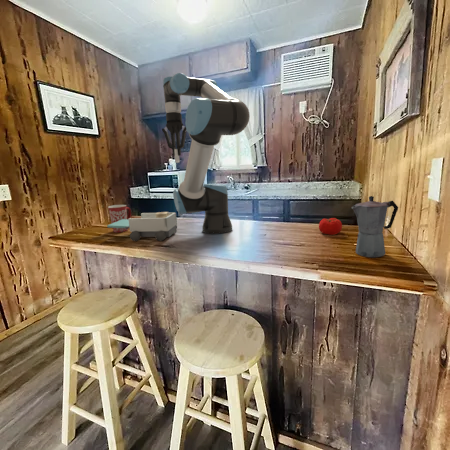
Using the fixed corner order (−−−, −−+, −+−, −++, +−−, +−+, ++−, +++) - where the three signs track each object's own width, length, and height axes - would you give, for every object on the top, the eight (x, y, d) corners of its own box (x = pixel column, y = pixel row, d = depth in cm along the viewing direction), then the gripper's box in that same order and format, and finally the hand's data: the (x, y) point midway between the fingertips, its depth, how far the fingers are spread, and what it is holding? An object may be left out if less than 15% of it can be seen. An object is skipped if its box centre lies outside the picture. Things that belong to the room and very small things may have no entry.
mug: (119, 233, 131) (115, 207, 128) (107, 232, 136) (104, 207, 132) (138, 228, 142) (135, 204, 139) (127, 226, 146) (124, 203, 143)
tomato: (318, 235, 113) (318, 221, 112) (319, 229, 123) (319, 216, 122) (342, 237, 110) (343, 222, 108) (341, 230, 120) (342, 217, 118)
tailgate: (143, 219, 132) (123, 218, 133) (127, 226, 116) (105, 225, 117) (143, 221, 132) (124, 220, 133) (127, 229, 116) (105, 228, 117)
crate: (168, 221, 126) (168, 211, 125) (167, 224, 121) (166, 213, 120) (158, 222, 126) (157, 212, 124) (156, 224, 121) (155, 214, 120)
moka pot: (341, 250, 93) (345, 195, 88) (382, 247, 94) (387, 193, 90) (357, 259, 84) (362, 198, 79) (401, 256, 85) (409, 196, 80)
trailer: (178, 230, 132) (177, 211, 130) (166, 241, 114) (164, 219, 112) (145, 231, 134) (143, 212, 132) (128, 241, 116) (125, 219, 114)
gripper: (188, 113, 128) (191, 162, 134) (163, 115, 130) (167, 163, 135) (184, 110, 121) (188, 161, 126) (158, 112, 123) (162, 163, 128)
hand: (177, 162), depth 131 cm, fingers closed
